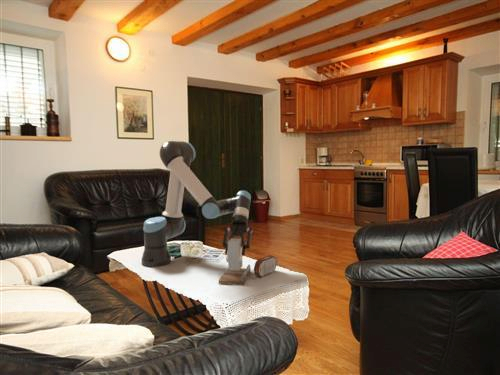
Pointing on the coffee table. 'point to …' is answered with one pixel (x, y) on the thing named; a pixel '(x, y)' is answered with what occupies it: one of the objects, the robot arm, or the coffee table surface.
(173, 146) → the robot arm
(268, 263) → the tin
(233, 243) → the carton
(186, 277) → the coffee table surface
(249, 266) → the price rail
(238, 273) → the shelf board
